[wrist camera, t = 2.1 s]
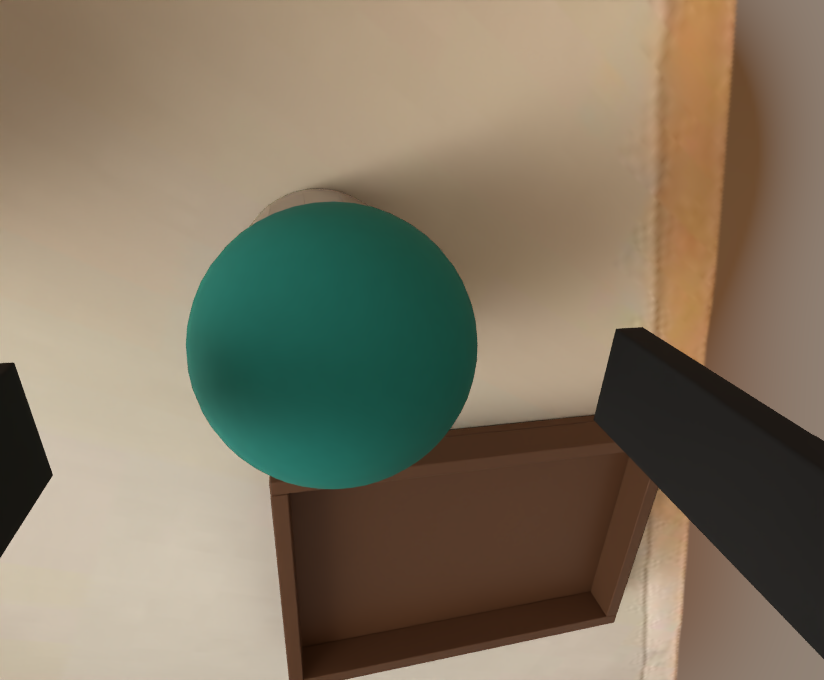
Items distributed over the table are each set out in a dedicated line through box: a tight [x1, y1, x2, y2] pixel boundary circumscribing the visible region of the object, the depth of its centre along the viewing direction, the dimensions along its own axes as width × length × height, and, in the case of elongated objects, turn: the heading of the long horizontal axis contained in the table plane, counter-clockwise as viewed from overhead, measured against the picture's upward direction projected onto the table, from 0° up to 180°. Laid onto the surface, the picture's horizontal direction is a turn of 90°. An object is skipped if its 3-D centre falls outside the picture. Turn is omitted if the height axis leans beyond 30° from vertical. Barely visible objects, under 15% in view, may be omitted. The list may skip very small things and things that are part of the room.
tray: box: [269, 415, 658, 680], centre depth 29 cm, size 16×22×3 cm
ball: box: [186, 201, 477, 489], centre depth 14 cm, size 8×8×8 cm
